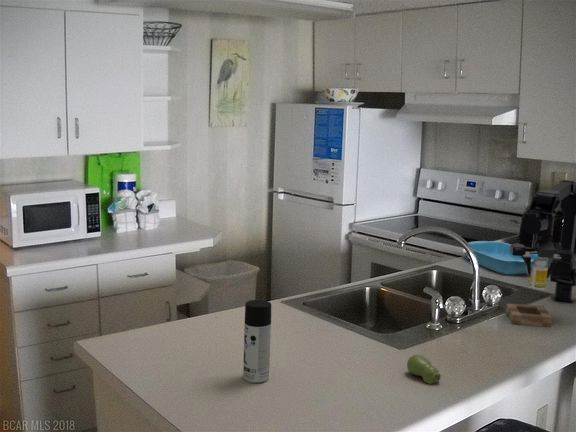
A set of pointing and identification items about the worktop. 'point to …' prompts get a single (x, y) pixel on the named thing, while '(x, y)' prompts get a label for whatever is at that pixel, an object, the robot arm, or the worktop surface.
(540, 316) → the walnut jig
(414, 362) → the pear
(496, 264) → the casserole dish
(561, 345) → the worktop surface
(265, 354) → the spray can
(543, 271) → the supplement bottle
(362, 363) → the worktop surface
